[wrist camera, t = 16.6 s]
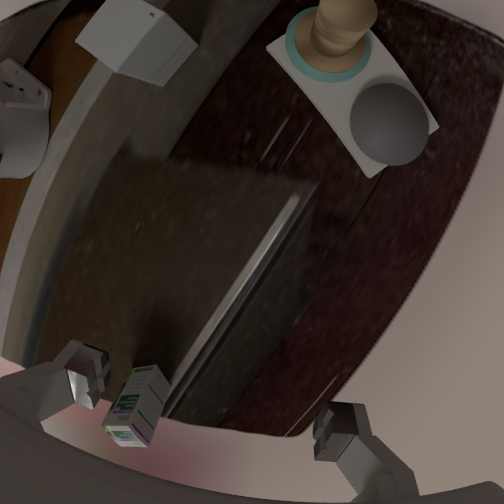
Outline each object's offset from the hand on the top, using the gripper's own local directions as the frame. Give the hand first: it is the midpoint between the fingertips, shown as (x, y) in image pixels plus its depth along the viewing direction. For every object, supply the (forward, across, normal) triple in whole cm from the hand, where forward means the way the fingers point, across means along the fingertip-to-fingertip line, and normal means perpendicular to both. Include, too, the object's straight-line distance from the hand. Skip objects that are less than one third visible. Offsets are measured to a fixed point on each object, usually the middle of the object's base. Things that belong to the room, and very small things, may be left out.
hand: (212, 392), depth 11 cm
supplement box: (+31, +16, -18) cm, 40 cm away
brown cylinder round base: (+28, -4, -22) cm, 36 cm away
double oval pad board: (+31, -8, -18) cm, 37 cm away
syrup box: (+31, +13, +34) cm, 48 cm away
